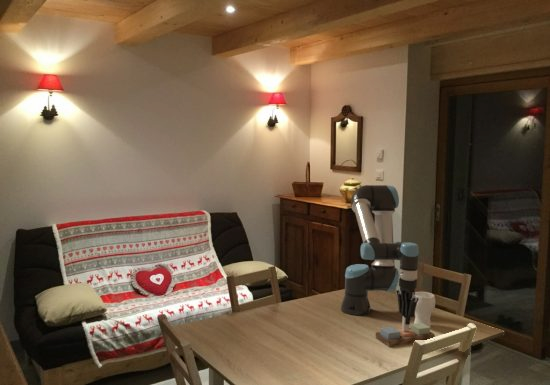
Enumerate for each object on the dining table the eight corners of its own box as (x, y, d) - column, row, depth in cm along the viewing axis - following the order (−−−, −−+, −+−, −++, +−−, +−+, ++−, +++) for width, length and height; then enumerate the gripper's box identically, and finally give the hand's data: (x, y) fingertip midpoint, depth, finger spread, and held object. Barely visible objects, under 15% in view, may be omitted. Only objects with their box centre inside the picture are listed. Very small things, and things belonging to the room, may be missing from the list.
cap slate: (380, 335, 214) (380, 328, 213) (391, 333, 216) (391, 326, 216) (388, 340, 208) (388, 333, 208) (399, 338, 210) (400, 331, 210)
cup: (435, 330, 226) (437, 299, 224) (411, 328, 228) (413, 297, 226) (432, 322, 236) (434, 292, 234) (410, 320, 238) (411, 290, 237)
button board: (388, 346, 206) (388, 341, 206) (375, 337, 215) (375, 332, 215) (434, 339, 215) (434, 334, 215) (420, 331, 224) (420, 326, 224)
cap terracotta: (395, 335, 217) (395, 329, 217) (406, 334, 219) (406, 327, 219) (403, 341, 211) (403, 334, 211) (414, 339, 213) (415, 332, 213)
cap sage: (410, 330, 220) (410, 324, 219) (421, 329, 222) (421, 322, 221) (418, 335, 214) (419, 329, 214) (429, 333, 216) (430, 327, 216)
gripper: (392, 275, 217) (389, 326, 219) (410, 283, 205) (407, 337, 207) (406, 273, 220) (403, 324, 222) (424, 281, 208) (421, 335, 210)
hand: (405, 330), depth 215 cm, fingers closed
